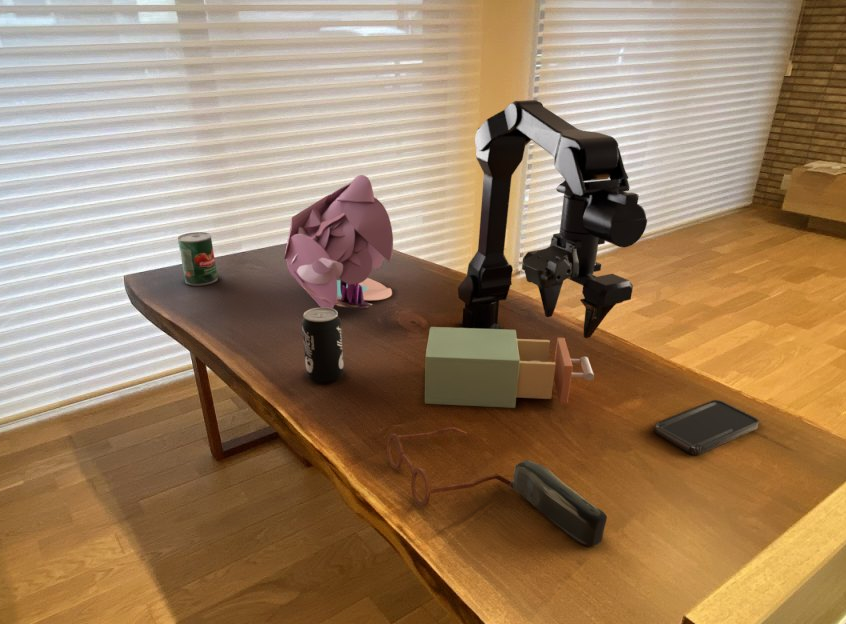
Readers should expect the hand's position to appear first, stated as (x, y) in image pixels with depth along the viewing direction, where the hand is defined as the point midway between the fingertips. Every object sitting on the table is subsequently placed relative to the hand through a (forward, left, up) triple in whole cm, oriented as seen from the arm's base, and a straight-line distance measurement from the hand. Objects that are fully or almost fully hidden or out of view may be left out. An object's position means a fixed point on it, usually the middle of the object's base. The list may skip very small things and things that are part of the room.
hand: (567, 326), depth 97 cm
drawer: (+3, -2, -11) cm, 12 cm away
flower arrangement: (+12, -59, -12) cm, 62 cm away
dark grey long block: (+21, +23, -12) cm, 33 cm away
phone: (-12, +20, -12) cm, 26 cm away
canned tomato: (+40, -86, -12) cm, 96 cm away
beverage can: (+32, -24, -12) cm, 42 cm away
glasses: (+28, +10, -12) cm, 32 cm away
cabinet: (+12, -8, -12) cm, 19 cm away
